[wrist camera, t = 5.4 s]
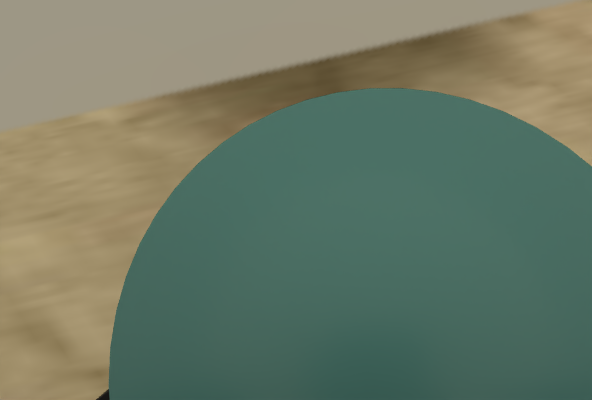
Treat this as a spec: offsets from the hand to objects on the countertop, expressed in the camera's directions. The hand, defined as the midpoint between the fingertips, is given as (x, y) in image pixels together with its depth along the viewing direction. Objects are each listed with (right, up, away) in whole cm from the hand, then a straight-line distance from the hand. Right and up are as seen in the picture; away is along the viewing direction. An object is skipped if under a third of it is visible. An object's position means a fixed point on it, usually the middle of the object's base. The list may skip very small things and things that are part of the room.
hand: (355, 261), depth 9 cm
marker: (+1, -3, +6) cm, 7 cm away
